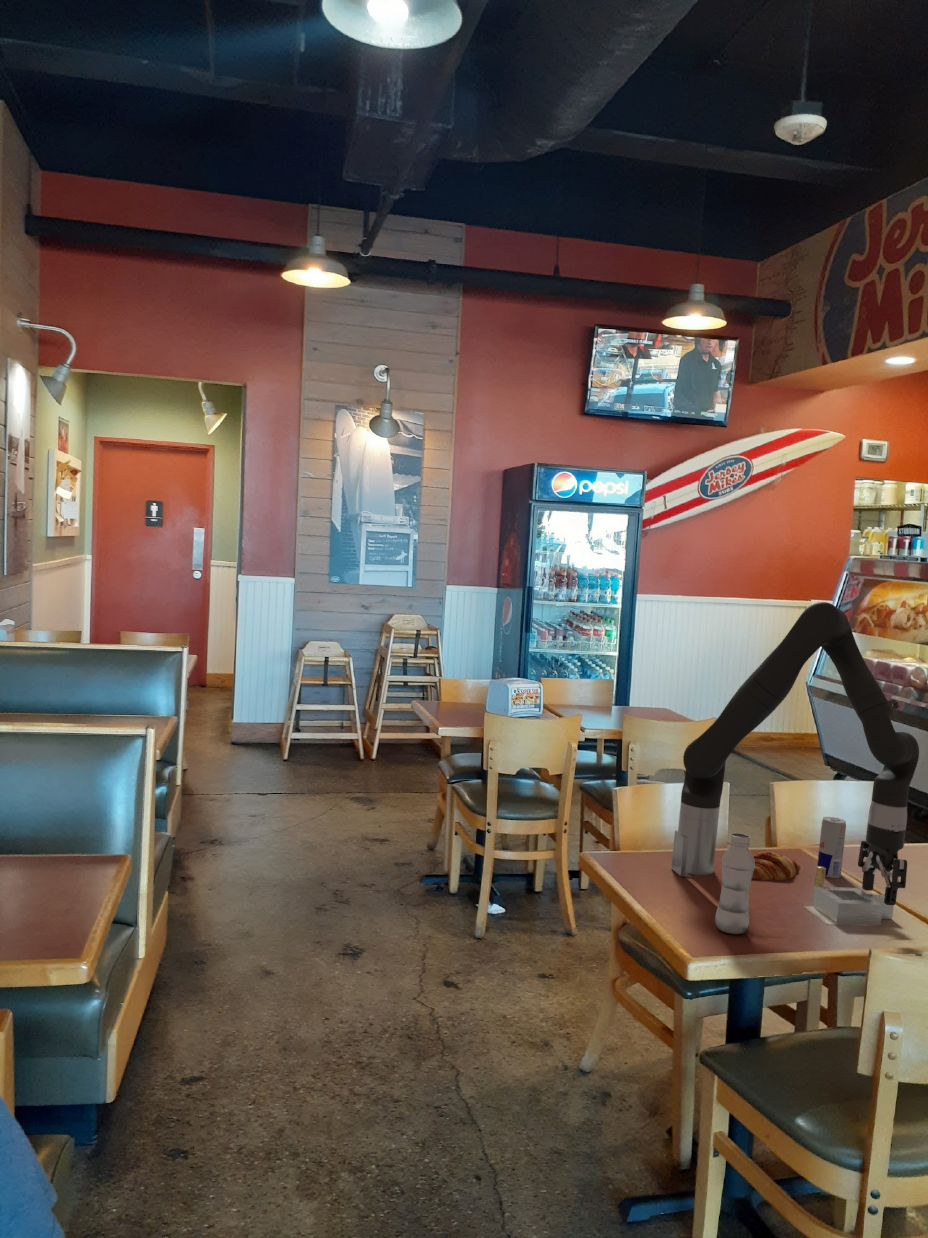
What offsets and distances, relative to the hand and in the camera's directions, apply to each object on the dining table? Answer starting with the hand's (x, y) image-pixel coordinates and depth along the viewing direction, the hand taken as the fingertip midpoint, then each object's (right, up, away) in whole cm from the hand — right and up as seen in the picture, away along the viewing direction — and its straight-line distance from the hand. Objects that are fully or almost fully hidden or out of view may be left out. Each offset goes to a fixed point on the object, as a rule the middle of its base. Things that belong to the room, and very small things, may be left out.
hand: (878, 897), depth 202 cm
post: (-11, -3, +7) cm, 13 cm away
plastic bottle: (-35, -4, -12) cm, 37 cm away
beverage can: (+1, -4, +29) cm, 30 cm away
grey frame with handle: (-5, -4, 0) cm, 6 cm away
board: (-9, -5, +3) cm, 10 cm away
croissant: (-14, -4, +26) cm, 30 cm away
